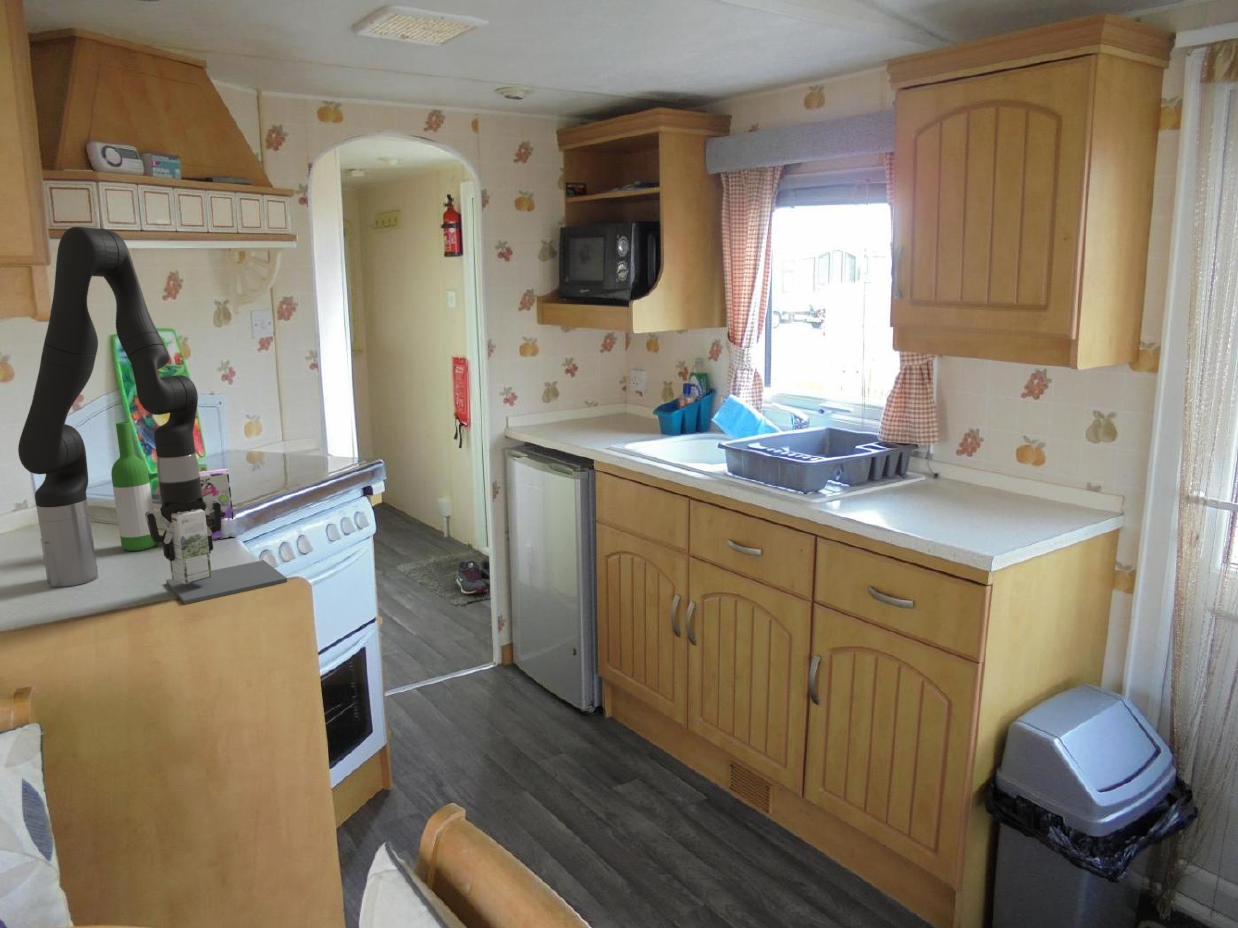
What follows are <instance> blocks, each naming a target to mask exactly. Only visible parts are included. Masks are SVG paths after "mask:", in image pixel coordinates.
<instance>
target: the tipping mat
mask: <svg viewBox="0 0 1238 928" xmlns="http://www.w3.org/2000/svg"><path fill="white" fill-rule="evenodd" d="M211 573H212V577H210V578H207V579H203V580H200V581H196V582H192V583H189V584H184V583H181V582H178V581H176V580H173V579H172V578H169V579H166V585H167V586H168V587H169V588H170V589H171V590H172V592H173V593H174V594H175V595H176V596H177V597H178V599H180V601H181V602H182V603H183V604H184V605H188V604H193V603H197V602H201V601H203V602H204V601H206V600H211V599H215V598H216V599H217V598H220V597H225V596H229V595H234V594H238V593H242V592H247V591H252V590H256V589H261V588H266V587H270V586H274V585H279V584H284V583H288V578H287V576H285V575H283V573H281V572H280V571H278V570H277V569H275V567H273V565H271V564H269V562H267V561H265V560H264V559H263V560H258V561H252V562H248V563H244V564H237V565H233V566H228V567H224V568H219V569H214V570H212V569H211Z"/></svg>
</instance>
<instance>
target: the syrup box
mask: <svg viewBox="0 0 1238 928" xmlns="http://www.w3.org/2000/svg"><path fill="white" fill-rule="evenodd" d="M171 517H172V521H173V523H174V527H173V528H174V531H175V533H174V534H173V536H172V539H171V541H170V542H171V543H172V549H173V556H174V561H169V565H170V571H171V579H173V580H176V581H178V582H181V583H184V584H189V583H192V582H196V581H200V580H203V579H207V578H210V577H212V573H211V571H212V568H211V556H210V554H209V546H208V537H207V527H206V518H205V511H203V510H201V509H198V510H195V512H189V511H185V512H182V513H181V514H176V513H172V515H171ZM164 523H165V526H166V525H167V526H168V527H170V525H171V523H170V522H169V521H168V520H166V519H165V518H164Z"/></svg>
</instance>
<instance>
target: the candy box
mask: <svg viewBox="0 0 1238 928" xmlns="http://www.w3.org/2000/svg"><path fill="white" fill-rule="evenodd" d="M199 473H200V481H201V489H202V497H203V500H204V502H205V503H209V502H213V501H217V502H218V503H220V505H221V520H222V519H224V518H227V517H228V518H232V519H233V517H234V518H235V516H234V510H233V509H234V508H233V499H232V490H231V480H230V479H231V478H230V472H229V468H222V469H221V468H220V469H212V470H211V469H210V470H202V471H200V470H199ZM205 518H206V525H207V526H208V527H210V526H212V513H211V512H209V510H208V508H206V509H205ZM221 522H222V521H221ZM221 526H222V525H221ZM221 531H222V530H220V531H217V532H215V533H213V534H212V541H217V540H221V539H220V538H222V537H223V536H222V533H221Z"/></svg>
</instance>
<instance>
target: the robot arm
mask: <svg viewBox="0 0 1238 928" xmlns="http://www.w3.org/2000/svg"><path fill="white" fill-rule="evenodd" d="M55 266H56V267H55V275H54V276H55V277H54V288H53V295H52V303H51V308H50V314H49V319H48V320H49V321H48V325H47V329H46V332H45V333H46V334H45V336H44V341H43V347H42V352H41V357H40V364H39V370H38V375H37V378H36V383H35V386H34V387H35V388H34V392H33V396H32V401H31V404H30V407H29V410H28V414H27V417H26V420H25V423H24V425H23V429H22V431H21V434H20V438H19V440H18V441H19V442H18V446H17V447H18V448H17V450H18V458H19V461H20V464H21V465H22V466H23V468H24V469H26V470H27V471H28V472H29V473H31V474H33V475H45V477H44V480H43V482H42V484H41V485H40V486H39V487H38V488H37V489H36V490H35V493H34V499H35V500H34V501H35V506H36V513H37V518H38V524H39V531H40V537H41V538H40V542H41V543H40V544H41V550H42V555H43V556H42V557H43V561H44V568H45V573H46V581H47V583H48V584H49V586H50V588H51V589H52V588H57V587H58V588H59V587H71V586H76V585H82V584H86V583H89V582H91V581H93V580H95V579H97V578H98V577H99V571H98V564H97V557H96V550H95V545H94V538H93V537H94V536H93V530H92V525H91V524H92V523H91V517H90V511H89V505H88V498H87V488H88V485H89V471H88V462H87V460H88V459H87V452H86V451H87V450H86V447H85V446H86V445H85V442H84V439H83V438H82V435H81V434H80V433H79V431H78V429H76V428H75V427H74V426H71V425H69V424H66V420H67V417H68V415H69V412H70V410H71V408H72V406H73V405H74V403H75V401H77V399H78V398H79V396H80V394H81V393H82V391H83V390H84V388H85V387H86V386H87V383H88V382H89V380H90V379H91V376H92V373H93V370H94V367H95V361H96V358H97V354H98V349H99V339H98V335H97V334H98V333H97V332H96V328H95V325H94V323H93V320H92V317H91V315H90V312H89V308H88V295H89V289H90V283H91V279H92V277H101V278H104V279H105V281H106V283H107V284H108V286H109V287H110V289H111V290H112V293H113V295H114V298H115V304H116V305H115V307H116V309H115V311H116V313H115V331H116V334H117V338H118V341H119V343H120V345H121V347H122V349H123V351H124V353H125V355H126V357H127V358H128V361H129V362H130V363H129V364H130V365H131V369H132V373H133V377H134V384H135V389H136V395H137V399H138V402H139V404H140V405H141V407H142V409H144V410H145V411H146V412H148V413H149V414H151V415H153V416H155V415H156V416H161V415H167V414H169V417H168V420H167V421H166V423H163V424H162V425H160V426H158V427H157V428H156V429H155V430H154V432H153V436H154V446H155V453H156V471H157V474H156V476H157V479H158V486H159V493H160V500H161V506H160V509H159V510H155V511H154V512H146V514H145V516H146V520H147V524H148V527H149V531H150V535H151V539H152V540H153V541H154V542H157V543H161V545H162V550H163V556H164V558H165V559H167V560H168V561H169V562H170V561H174V556H173V549H172V543H171V542H170V541H171V539H172V536H173V534H174V533H175V531H174V528H173V527H174V523H173V521H172V517H171V515H172V513H176V514H181V513H182V512H185V511H189V512H195V510H198V509H201V510H203V511H205V509H206V508H208V510H209V512H211V513H212V526H210V527H208V526H207V525H206V527H207V537H208V546H209V555H210V554H211V553H212V551H213V550H214V542H213V540H212V534H213V533H215V532H217V531H220V530H221V505H220V503H218V502H217V501H213V502H209V503H205V502H204V500H203V497H202V489H201V481H200V473H199V472H200V466H199V461H198V458H197V453H196V446H195V439H194V438H195V437H194V428H195V423H196V415H197V409H198V401H199V396H198V390H197V388H196V385H195V383H194V382H193V381H192V380H191V378H189V377H188V376H186V375H184V374H183V375H182V374H181V375H180V374H176V375H175V374H174V375H170V376H162V377H161V376H160V375H159V373H158V371H159V369H162V368H164V367H166V365H167V364H168V363H169V362H170V359H171V358H170V354H169V351H168V350H167V347H166V346H165V343H164V342H163V340H162V337H161V336H160V334H159V331H158V330H157V328H156V326H155V324H154V321H153V319H152V317H151V315H150V311H149V310H148V307H147V304H146V300H145V297H144V295H143V291H142V288H141V285H140V282H139V279H138V278H139V277H138V275H137V272H136V269H135V265H134V262H133V259H132V257H131V253H130V251H129V248H128V246H127V244H126V242H125V240H124V239H123V238H122V237H121V235H119V234H118V233H116V232H115V231H111V230H108V229H102V228H96V227H93V228H92V227H86V226H72V227H70V228H68V229H66V230H65V231H64V233H63V234H62V236H61V238H60V240H59V243H58V247H57V254H56V263H55ZM160 517H163V518H164V520H165V519H166V520H168V521H169V522H170V523H171V525H170V527H168V526H167V525H165V526H164V530H163V532H162V534H160V533H159V528H158V525H157V523H159V522H160Z"/></svg>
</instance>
